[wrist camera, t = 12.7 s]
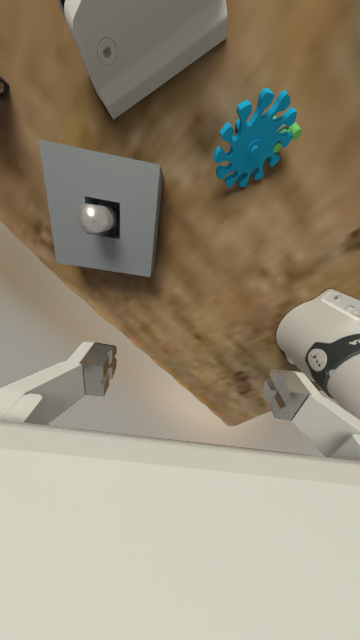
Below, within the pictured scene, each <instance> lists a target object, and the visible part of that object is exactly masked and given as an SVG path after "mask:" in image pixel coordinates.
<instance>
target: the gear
mask: <svg viewBox="0 0 360 640" xmlns="http://www.w3.org/2000/svg"><path fill="white" fill-rule="evenodd" d="M273 99H274V94H273V93H272V91H271V90H270V89H268V88H263V89H262V90H261V92H260V94H259V99H258V104H257V107H256V110H255V112H254V114H253V115H252V117H251V119H250V120H249V121H248V122H246V120H247V118H248V116H249V115H250V113H251V109H252V106H251V104H250V102H249V100H245V101H243V102H242V103H240V104H239V105H238V106H237V113H238V115H239V119H238V120H237V121H236V124H235V127H236V129H237V130H238V133H237V134H236V135H235V136H233V128H232V126H231V124H230V123H229V122H227V123H226V124H225V125H224V126H223V128H222V129H221V131H220V135H221V137H222V139H223V140H224V141H227V142H229V143H230V145H231V148H230V150H229V151H228V152H227V153H224V152H223V150H222V148H221V147H217V148H216V150H215V152H214V156H213V158H214V160H215V162H216V163H219V162H222V161H229V162H230V163H229V165H228V166H226V167H225V166H222V165H219V166H218V167H216V174H217V177H218V179H222V178H223V177H224V176H225V175H226V174H228V173H230V172H233V171H235V172H234V173H233V174H231V175H228V176H226V177H225V179H224V180H225V183H226V185H227V186H228V187H229V188H230V187H232V186H233V184H234V182H235V181H236V179H237V178H238V177H239V176H241V175H242V174H243V173H244V175H242V176H241V177H240V178H239V179H238V181H237V183H238V185H239V186H240V187H245V186H246V185H247V183H248V179H249V176H250V175H251V173H252V172H253V170H254V169H255V168H256V170H255V171H254V173H253V177H254V179H255V180H259V179H260V178H262V177H263V175H264V173H263V170H262V168H263V164H264V161H265V159H266V158H268V157H269V158H268V163H269V165H270V166H271V167H272V166H274V165H275V164H276V163H277V162H278V161H279V160H280V157H279V156H278V154H277V153H276V152H278V151H279V150H280V148H281V146H282V147H286V146H287V145H288V144H289V142H290V141H291V139H293V140H295V139H297V138H298V137H299V136H300V135H301V133H302V130H301V129H300V127H299V126H298V124H297V123H294V122H295V119H296V114H297V111H296V110H295V109H294V107H292V108H290V109H288V110H287V111H286V112H285V113H284V114H283V115H282V116H280V117H278V118H276V117H275V114H276V113H277V112H279V111H283V110H285V109H286V108H287V107H288V106H289V105H290V97H289V95H288V94H287V92H286V91H285V90H283V91H282V92H281V93H280V94H279V95H278V97H277V99H276V101H275V103H274V104H273V105H272V107H271V108H270V109H269V110H268V111H267V112H266V113H265V114H263V115H261V114H262V112H263V111H264V109H266V108H267V107H268V106H269V105H270V104H271V103H272V101H273ZM289 126H290V128H289ZM232 136H233V137H232Z"/></svg>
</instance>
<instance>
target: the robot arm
mask: <svg viewBox="0 0 360 640" xmlns="http://www.w3.org/2000/svg"><path fill="white" fill-rule="evenodd" d="M334 297H335V298H334ZM276 341H277V344H278V346H279V347H280V349H281V350H282V351H284V353H285V355H286V359H287V361H288V362H289V363H290V364H295V365H296V366H297V367H298V368H299V369H300V370H301V371H302V372H303V373H302V372H297V371H286V370H279V369H272V370H271V371H270V373H269V376H270V378H269V379H267V380H266V381H265V383H264V385H263V393H264V396H265V398H266V399H267V400H268V401H269V402H270V406H269V407H270V409H271V411H272V413H273V415H274V417H275V418H278V419H284V420H291V421H292V423H293V424H294V425H295V426H296V427H297V428H298V429H299V430H300V431H301V432H302V433H303V434H304V435H305V436H306V437H307V438H308V439H309V440H310V441H311V442H312V443H313V444H314V445H315V446H316V447H317V448H318V450H319V451H320V452H322V454H323V455H324V456H325V457H321V456H312V455H303V454H294V453H286V452H277V451H268V450H259V449H250V448H241V447H233V446H224V445H215V444H207V443H198V442H188V441H180V440H171V439H163V438H154V437H146V436H137V435H128V434H119V433H110V432H102V431H93V430H84V429H75V428H66V427H58V426H49V424H48V423H50V422H51V421H52V420H54V419H55V418H56V417H58V416H59V415H60V414H61V413H63V412H64V411H65V410H67V409H68V408H69V407H71V406H72V405H73V404H75V403H76V402H77V401H78V400H80V399H81V398H82V397H84V396H85V395H95V396H104V395H105V393H106V391H107V388H108V386H109V380H110V379H112V378H113V375H114V372H115V369H116V358H115V355H116V353H117V351H116V350H117V348H116V346H114V345H108V344H101V343H95V342H89V341H84V342H83V343H82V344H81V345H80V346H79V347H78V348H77V350H76V351H75V352H74V353H73V354H72V356H71V357H70V358H69V359H68V360H67V361H66V362H60V363H58V364H56V365H54V366H51V367H49V368H47V369H44V370H42V371H40V372H37V373H35V374H33V375H30V376H28V377H26V378H23V379H21V380H19V381H17V382H14V383H12V384H10V385H7V386H5V387H3V388H0V640H360V300H358V299H355V298H353V297H350V296H348V295H346V294H343V293H341V292H338V291H336V290H334V289H329V290H327V291H325V292H323V293H322V294H321V295H319V296H318V297H317V298H315V299H313V300H311V301H308V302H306V303H303V304H301V305H299V306H297V307H296V308H294V309H293V310H291V311H290V312H289V313H288V314H287V315H286V316H285V317H284V318H283V320H282V321H281V323H280V324H279V326H278V329H277V333H276ZM306 376H307V377H308V378H309V379H310V380H312V381H315V382H316V383H317V384H318V386H319V387H320V389H321V390H322V391H324V392H325V393H326V394H327V395H328V396H329V397H331V398H332V399H334V400H335V401H336V402H337V403H338V404H339V405H340V406H338V405H337V404H335V403H333V402H332V401H331V400H329V399H328V398H326V397H323V396H322V395H321V394H320V393H319V391H318V390H317V389H316V388H315V387H314V385H313V384H312V383H311V382H310V380H309V379H308V378H307V377H306Z"/></svg>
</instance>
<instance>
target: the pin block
mask: <svg viewBox="0 0 360 640" xmlns="http://www.w3.org/2000/svg"><path fill="white" fill-rule="evenodd" d="M38 140H39V139H38ZM39 147H40V153H41V160H42V167H43V174H44V180H45V187H46V194H47V201H48V207H49V214H50V221H51V228H52V234H53V241H54V248H55V255H56V261H57V263H62V264H68V265H74V266H81V267H87V268H94V269H100V270H107V271H113V272H120V273H126V274H133V275H139V276H145V277H151V274H152V272H153V270H154V265H155V255H156V245H157V235H158V224H159V214H160V204H161V193H162V183H163V172H162V169H161V166H160V165H158V164H153V163H149V162H144V161H139V160H134V159H130V158H125V157H120V156H115V155H111V154H106V153H101V152H96V151H92V150H87V149H82V148H77V147H73V146H68V145H63V144H58V143H54V142H49V141H44V140H39ZM82 204H93V205H100V206H108V207H115V208H117V209H119V210H120V228H118V229H113V230H109V231H104V232H99V233H94V234H90V233H87V232H85V231H83V230H82V229H81V228H80V227H79V225H78V223H77V221H76V216H75V214H76V210H77V208H78V207H79V206H80V205H82Z"/></svg>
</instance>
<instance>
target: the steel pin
mask: <svg viewBox="0 0 360 640" xmlns="http://www.w3.org/2000/svg"><path fill="white" fill-rule="evenodd" d="M75 216H76V221H77V223H78V225H79V227H80V228H81V229H82V230H83V231H85V232H87V233H90V234H94V233H99V232H104V231H109V230H113V229H118V228H120V210H119V209H117V208H115V207H108V206H100V205H93V204H82V205H80V206H79V207H78V208H77V210H76V214H75Z"/></svg>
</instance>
